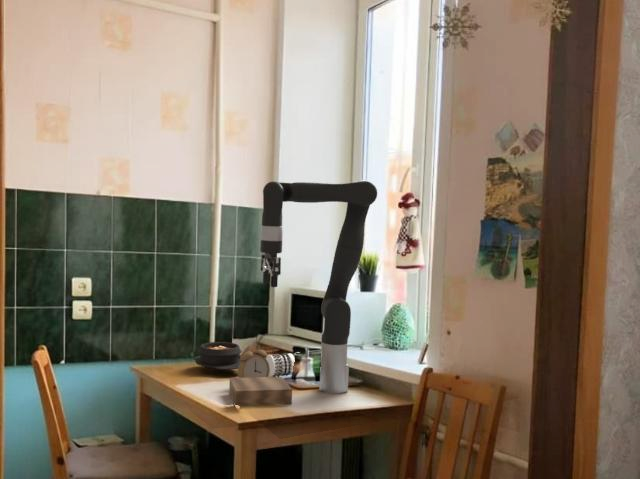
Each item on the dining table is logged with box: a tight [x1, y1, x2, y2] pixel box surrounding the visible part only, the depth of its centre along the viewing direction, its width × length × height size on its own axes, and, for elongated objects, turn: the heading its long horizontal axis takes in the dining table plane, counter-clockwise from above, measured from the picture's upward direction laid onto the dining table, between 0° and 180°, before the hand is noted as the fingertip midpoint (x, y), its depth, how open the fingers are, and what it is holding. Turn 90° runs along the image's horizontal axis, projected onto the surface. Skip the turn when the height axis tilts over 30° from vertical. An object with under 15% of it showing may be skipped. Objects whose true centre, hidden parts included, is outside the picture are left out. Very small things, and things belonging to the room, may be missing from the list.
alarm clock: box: [237, 343, 270, 378], centre depth 240 cm, size 11×5×15 cm, turn 126°
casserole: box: [193, 341, 242, 371], centre depth 267 cm, size 25×19×8 cm
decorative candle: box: [265, 351, 300, 377], centre depth 259 cm, size 9×9×25 cm
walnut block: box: [228, 376, 293, 406], centre depth 223 cm, size 18×16×6 cm
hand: (269, 285), depth 237 cm, fingers open, 8 cm apart
